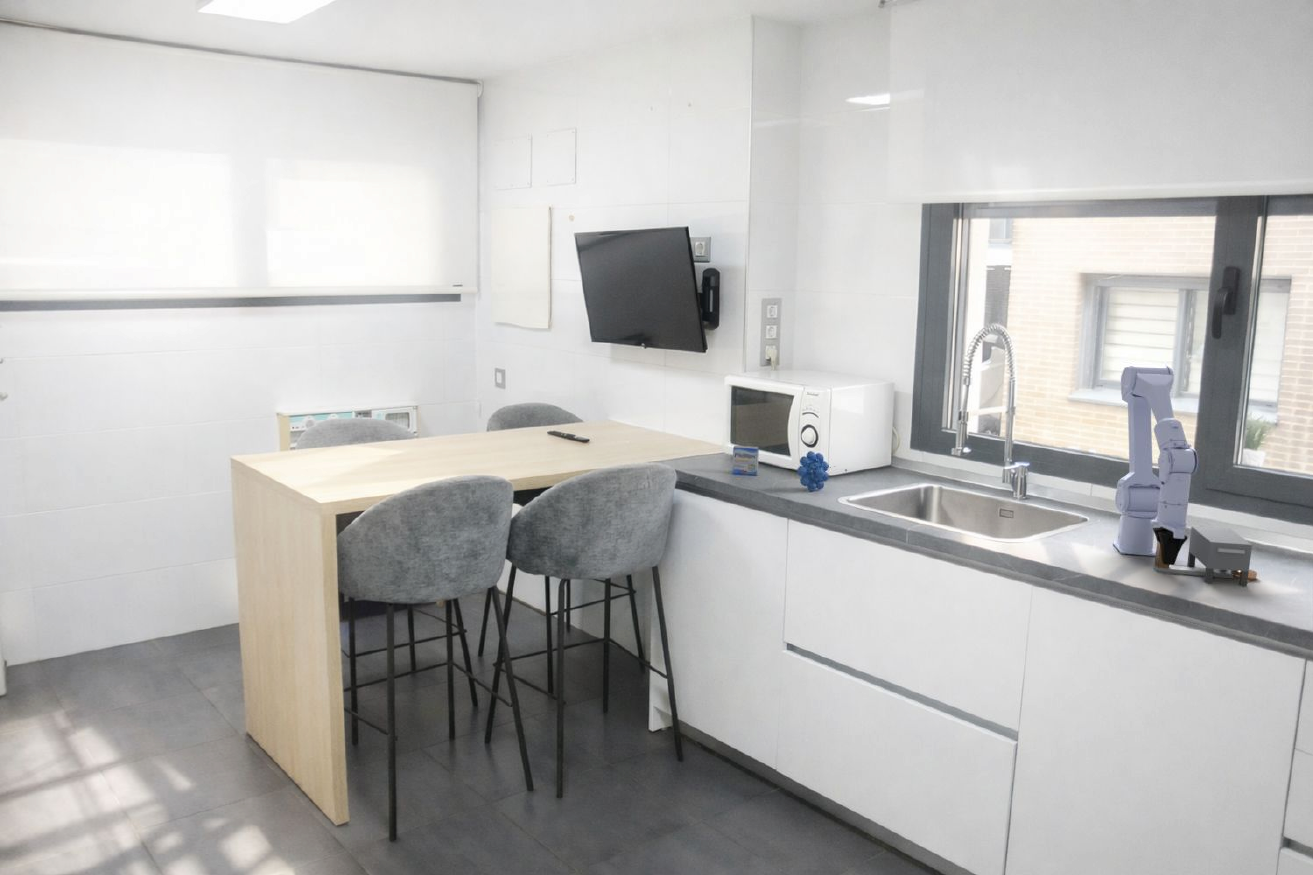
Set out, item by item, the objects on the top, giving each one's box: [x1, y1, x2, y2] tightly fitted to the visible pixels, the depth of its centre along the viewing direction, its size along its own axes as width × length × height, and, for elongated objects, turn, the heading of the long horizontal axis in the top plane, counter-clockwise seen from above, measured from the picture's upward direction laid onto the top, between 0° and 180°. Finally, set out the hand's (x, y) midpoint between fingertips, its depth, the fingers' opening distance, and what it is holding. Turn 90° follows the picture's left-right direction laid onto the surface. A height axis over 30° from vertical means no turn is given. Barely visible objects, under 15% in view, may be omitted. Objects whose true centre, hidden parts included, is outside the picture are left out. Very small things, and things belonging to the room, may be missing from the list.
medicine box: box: [731, 445, 760, 477], centre depth 324 cm, size 8×4×9 cm, turn 80°
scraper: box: [1153, 540, 1234, 579], centre depth 226 cm, size 3×15×6 cm, turn 77°
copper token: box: [1230, 569, 1258, 582], centre depth 224 cm, size 5×5×2 cm
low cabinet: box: [1186, 525, 1253, 587], centre depth 225 cm, size 15×8×9 cm, turn 168°
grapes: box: [796, 450, 830, 492], centre depth 299 cm, size 12×7×12 cm, turn 123°
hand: (1166, 562), depth 227 cm, fingers closed on scraper, 2 cm apart
